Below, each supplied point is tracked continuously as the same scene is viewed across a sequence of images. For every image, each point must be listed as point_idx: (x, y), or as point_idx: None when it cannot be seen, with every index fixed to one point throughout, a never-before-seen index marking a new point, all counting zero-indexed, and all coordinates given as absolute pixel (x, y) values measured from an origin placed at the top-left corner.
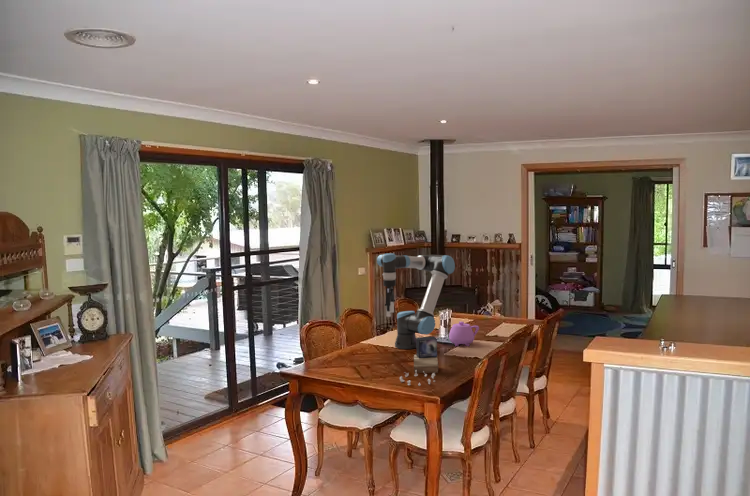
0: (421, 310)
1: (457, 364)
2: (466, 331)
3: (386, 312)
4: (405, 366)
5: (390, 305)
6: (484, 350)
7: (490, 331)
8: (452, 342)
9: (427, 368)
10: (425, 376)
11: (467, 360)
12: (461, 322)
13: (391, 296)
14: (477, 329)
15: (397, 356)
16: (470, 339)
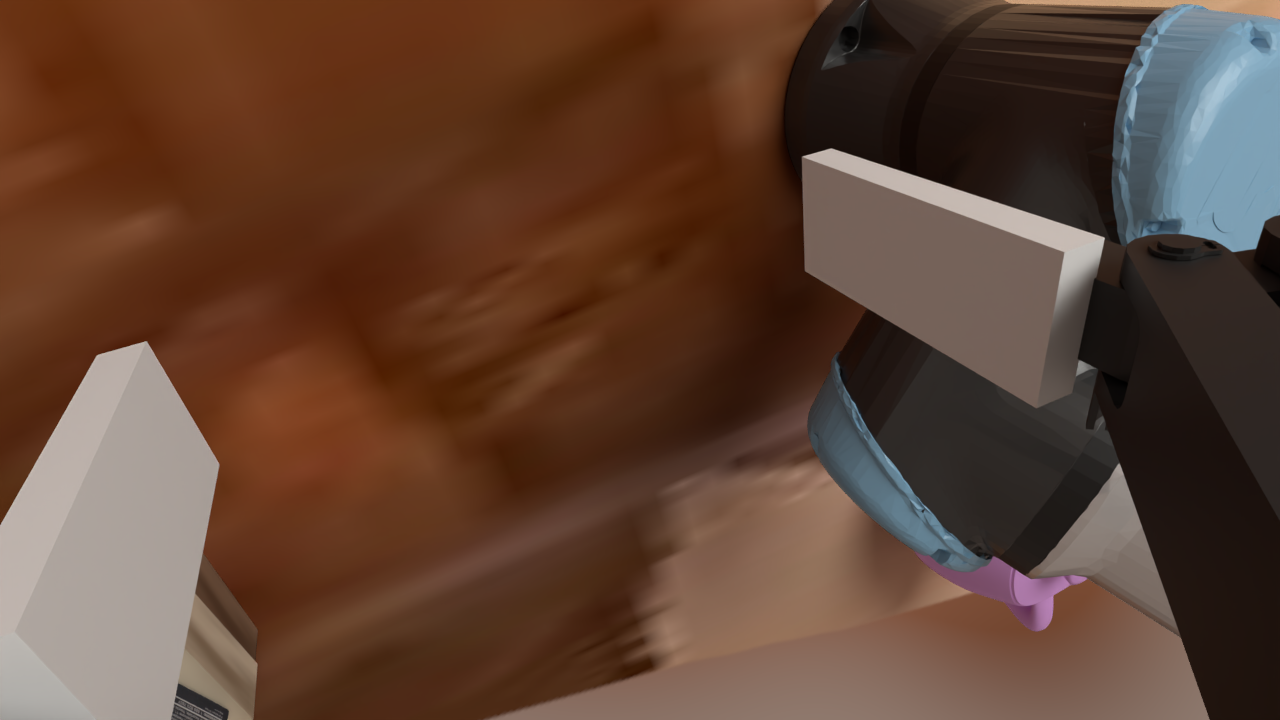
0: (1084, 514)
1: (430, 673)
2: (972, 583)
3: (60, 443)
4: None
5: (948, 248)
6: (812, 626)
7: None
8: None
9: None
10: None
11: (559, 667)
12: (1070, 577)
13: (1200, 573)
14: (1014, 613)
15: (498, 149)
16: (925, 563)
